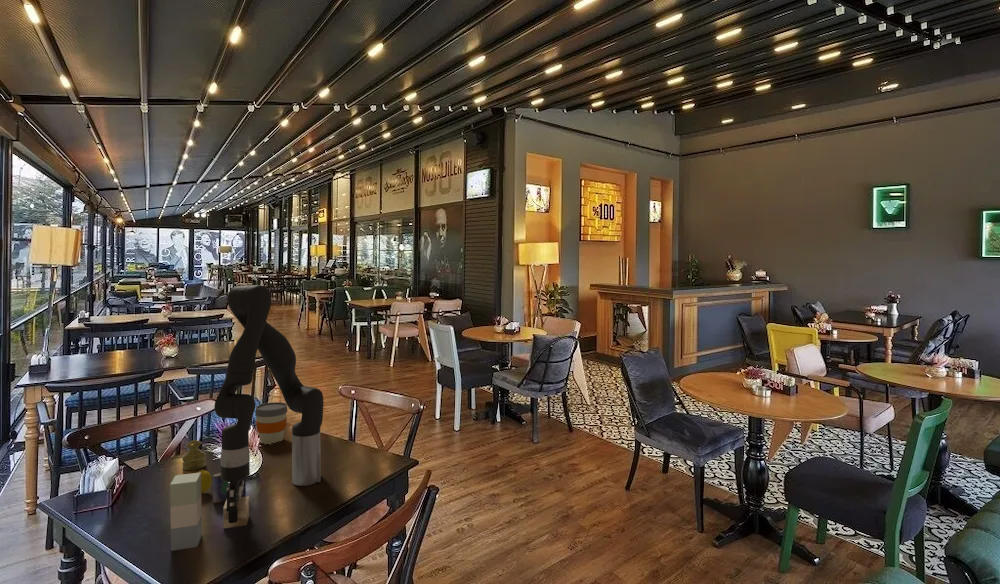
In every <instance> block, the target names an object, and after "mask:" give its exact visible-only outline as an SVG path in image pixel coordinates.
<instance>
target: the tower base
mask: <svg viewBox="0 0 1000 584" xmlns="http://www.w3.org/2000/svg"><path fill="white" fill-rule="evenodd" d="M202 516H203V514H202V515H201V517H200V519H199V522H198V524H197V525H195V526H188V527H181V528H174V529H171V528H170V545H171V546H170V549H171V552H173V551H178V550H179V551H180V550H185V549H192V548H193V549H194V548H198V547H199V544H200V541H201V538H202V536H203V522H202V521H203V520H202V519H203V518H202Z"/></svg>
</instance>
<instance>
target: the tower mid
mask: <svg viewBox="0 0 1000 584" xmlns="http://www.w3.org/2000/svg"><path fill="white" fill-rule="evenodd" d="M202 510H203V509H202V494H201V495H200V497H199V500H198V502H197V503H196V504H188V505H181V506H173V507H170V530H171V529H174V528H181V527H188V526H195V525H197V524H198V522H199V519H200V517H201V515H202V516H203V514H202V513H203V511H202Z"/></svg>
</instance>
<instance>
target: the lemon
mask: <svg viewBox="0 0 1000 584" xmlns="http://www.w3.org/2000/svg"><path fill="white" fill-rule="evenodd" d="M196 473H201V495H203V494H204V493H205V492H207V491H209V489H210V488H211V486H212V483H213V477H212V475H211V473H210V472H209V471H207V470H204V469H201V470H199V471H198V472H196Z"/></svg>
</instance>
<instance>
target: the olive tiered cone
mask: <svg viewBox="0 0 1000 584" xmlns="http://www.w3.org/2000/svg"><path fill="white" fill-rule="evenodd" d="M202 444H203V442H202V441H200V440H197V439H192V440H191V441H189V442H187V443H185V447H187V448H188V449H189V450H188V452H186V454H184V455H182V457H181V458H182V464H181V465H182V469H183V470H184V471H187V472H189V471H190V472H192V471H197V470H200V469H201V470H202V469H203V468H204V467H205V466H206V463H207V462H206V457H207V454H206V453H205V452H204V451H203V450H201V449H200V448H199V447H200V446H201V445H202Z"/></svg>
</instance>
